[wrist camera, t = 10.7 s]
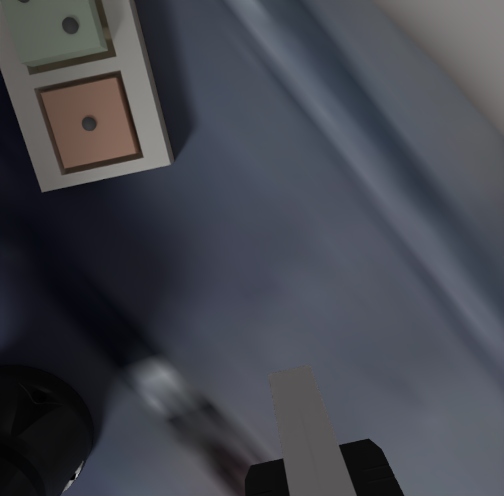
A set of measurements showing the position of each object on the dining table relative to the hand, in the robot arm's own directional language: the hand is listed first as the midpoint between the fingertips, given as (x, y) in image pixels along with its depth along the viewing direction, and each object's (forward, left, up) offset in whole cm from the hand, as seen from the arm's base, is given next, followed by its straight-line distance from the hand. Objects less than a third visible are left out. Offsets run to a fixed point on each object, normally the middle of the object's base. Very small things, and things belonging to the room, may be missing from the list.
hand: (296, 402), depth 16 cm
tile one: (-11, +12, -27) cm, 32 cm away
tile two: (-11, +20, -25) cm, 34 cm away
